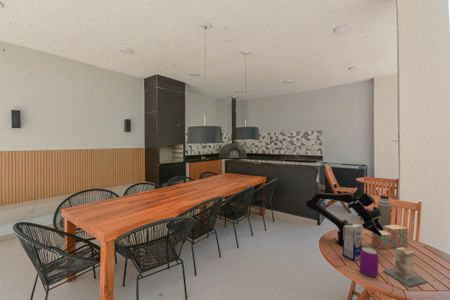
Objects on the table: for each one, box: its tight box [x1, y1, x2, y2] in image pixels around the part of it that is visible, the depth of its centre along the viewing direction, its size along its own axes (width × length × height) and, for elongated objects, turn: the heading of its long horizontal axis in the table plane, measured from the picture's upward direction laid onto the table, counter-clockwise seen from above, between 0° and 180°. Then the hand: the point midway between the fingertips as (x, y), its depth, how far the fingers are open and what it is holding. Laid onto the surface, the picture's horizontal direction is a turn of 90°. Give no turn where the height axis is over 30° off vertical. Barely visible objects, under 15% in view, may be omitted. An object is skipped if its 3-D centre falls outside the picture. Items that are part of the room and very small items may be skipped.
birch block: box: [394, 247, 415, 280], centre depth 104 cm, size 5×5×13 cm
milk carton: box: [342, 222, 363, 262], centre depth 122 cm, size 7×7×20 cm
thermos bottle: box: [376, 195, 392, 231], centre depth 152 cm, size 8×8×28 cm
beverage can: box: [359, 246, 379, 277], centre depth 107 cm, size 8×8×12 cm
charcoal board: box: [382, 267, 428, 288], centre depth 104 cm, size 12×12×1 cm
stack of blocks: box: [371, 224, 409, 250], centre depth 136 cm, size 21×6×12 cm, turn 101°
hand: (382, 233), depth 123 cm, fingers open, 9 cm apart
